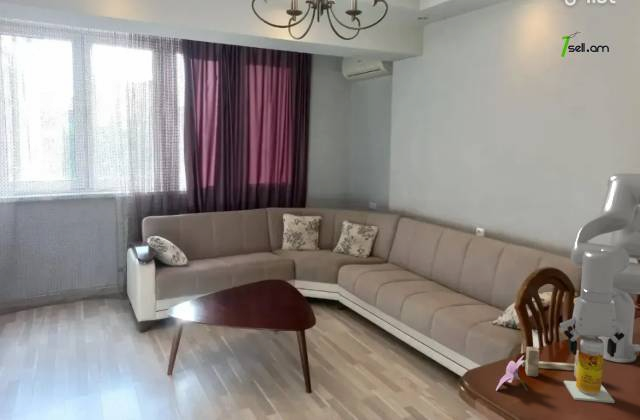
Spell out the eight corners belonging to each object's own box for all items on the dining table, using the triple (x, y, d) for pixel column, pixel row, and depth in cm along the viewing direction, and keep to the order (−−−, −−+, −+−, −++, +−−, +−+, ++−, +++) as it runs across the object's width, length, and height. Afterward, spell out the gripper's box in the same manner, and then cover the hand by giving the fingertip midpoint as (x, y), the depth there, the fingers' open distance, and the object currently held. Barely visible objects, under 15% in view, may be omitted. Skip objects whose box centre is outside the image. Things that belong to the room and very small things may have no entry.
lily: (513, 378, 151) (498, 351, 151) (549, 378, 142) (533, 348, 142) (495, 403, 144) (479, 375, 144) (531, 405, 135) (514, 374, 134)
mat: (600, 385, 145) (600, 383, 145) (614, 402, 135) (614, 400, 135) (563, 382, 147) (563, 380, 147) (574, 399, 137) (574, 397, 137)
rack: (579, 368, 155) (581, 344, 154) (588, 380, 148) (590, 354, 147) (521, 364, 158) (523, 340, 157) (527, 375, 151) (528, 350, 150)
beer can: (579, 394, 138) (584, 343, 136) (572, 384, 144) (576, 334, 142) (603, 397, 137) (608, 344, 135) (595, 386, 143) (600, 336, 141)
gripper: (624, 291, 139) (619, 349, 142) (558, 289, 142) (554, 346, 145) (636, 301, 132) (631, 361, 135) (566, 298, 135) (562, 358, 138)
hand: (591, 353), depth 140 cm, fingers open, 9 cm apart
